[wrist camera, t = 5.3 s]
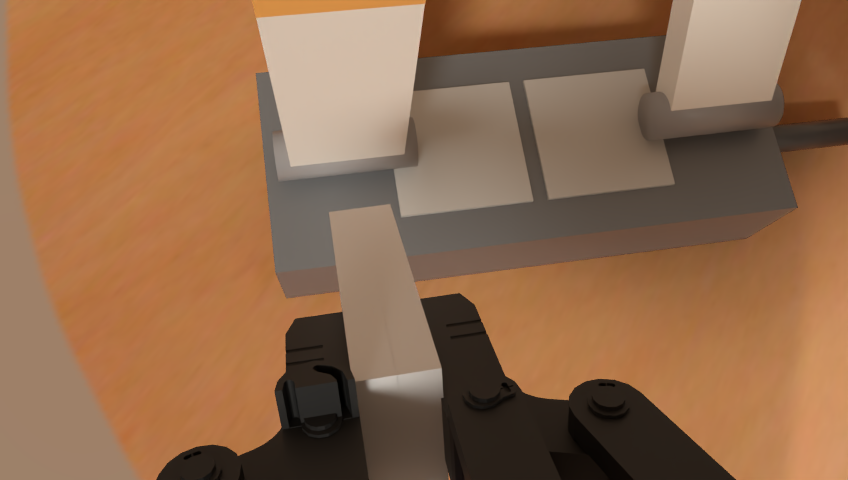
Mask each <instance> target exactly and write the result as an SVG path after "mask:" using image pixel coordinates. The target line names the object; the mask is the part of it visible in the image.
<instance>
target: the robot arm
mask: <svg viewBox="0 0 848 480" xmlns="http://www.w3.org/2000/svg"><path fill="white" fill-rule="evenodd" d="M329 217H330V224H331V232H332V239H333V246H334V254H335V261H336V269H337V276H338V284H339V291H340V298H341V306H342V312H339V313H332V314H325V315H318V316H311V317H304V318H297V319H295V320H294V322H293V323H292V325H291V326H290V328H289V330H288V331H287V333H286V373H285V374H284V375H283V376H282V377H281V378H280V379H279V380H278V382H277V385H276V388H275V396H276V401H277V406H278V411H279V416H280V421H281V426H282V428H281V430H280V431H279V432H278V433H277V434H276V435H275V436H274V437H273V438H272V439H271V440H269V441H268V442H267V443H265V444H264V445H262V446H260V447H258V448H256V449H254V450H252V451H249V452H247V453H244V454H242V455H240V456H237V454H236V453H235V452H233V451H232V450H230V449H229V448H227V447H223V446H217V445H207V446H199V447H195V448H193V449H190V450H188V451H185V452H183V453H181V454H179V455H178V456H176V457H175V458H174V459H172V460H171V461H170V462H168V463H167V465H166V466H165V467H164V469H163V470H162V471H161V472H160V474H159V475H158V477H157V479H156V480H449V479H448V473H449V476H450V480H736V479H735V478H734V477H732V476H731V475H730V474H729V473H728V472H727V471H726V470H725V469H724V468H723V467H722V466H720V465H719V464H718V463H717V462H716V461H715V460H714V459H713V458H712V457H711V456H709V455H708V454H707V453H706V452H705V451H704V450H703V449H702V448H701V447H700V446H699V445H697V444H696V443H695V442H694V441H693V440H692V439H691V438H690V437H689V436H688V435H687V434H685V433H684V432H683V431H682V430H681V429H680V428H679V427H678V426H677V425H676V424H675V423H673V422H672V421H671V420H670V419H669V418H668V417H667V416H666V415H665V414H664V413H663V412H661V411H660V410H659V409H658V408H657V407H656V406H655V405H654V404H653V403H652V402H651V401H649V400H648V399H647V398H646V397H645V396H644V395H643V394H642V393H641V392H639V391H638V390H636V389H635V388H633V387H632V386H630V385H629V384H626V383H622V382H619V381H616V380H608V379H596V380H591V381H586V382H584V383H582V384H580V385H579V386H577V387H575V388H574V390H573V391H572V393H571V394H570V396H569V400H555V399H545V398H538V397H534V396H531V395H528V394H525V393H523V392H522V390H521V389H520V388H519V386H518V385H517V384H516V383H515V381H513V380H511V379H509V378H508V377H506V376H505V374H504V372H503V370H502V367H501V365H500V363H499V361H498V358H497V356H496V354H495V351H494V349H493V347H492V344H491V342H490V340H489V337H488V335H487V334H486V330H485V328H484V326H483V323H482V322H481V319H480V316H479V314H478V312H477V309H476V307H475V305H474V304H473V303H472V302H470V301H469V300H468V299H466V298H465V297H464V296H462V295H461V294H460V293H458V294H451V295H444V296H437V297H431V298H424V299H420V297H419V294H418V291H417V288H416V285H415V281H414V278H413V275H412V272H411V269H410V266H409V262H408V259H407V256H406V253H405V250H404V247H403V243H402V240H401V237H400V234H399V231H398V227H397V224H396V221H395V218H394V215H393V212H392V208H391V205H390V204H387V205H379V206H371V207H364V208H356V209H348V210H340V211H333V212H329Z"/></svg>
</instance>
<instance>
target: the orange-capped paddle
mask: <svg viewBox="0 0 848 480" xmlns="http://www.w3.org/2000/svg"><path fill="white" fill-rule="evenodd" d="M252 3H253V7H254V11H255V16H256V19H257V23H258V27H259V32H260V36H261V40H262V45H263V49H264V53H265V58H266V62H267V66H268V71H269V75H270V79H271V84H272V88H273V92H274V96H275V101H276V105H277V109H278V114H279V118H280V122H281V127H282V130H279V131H273V132H272V136H273V148H274V156H275V163H276V170H277V175H278V180H279V182H280V181H289V180H298V179H307V178H316V177H325V176H334V175H343V174H352V173H361V172H370V171H379V170H388V169H397V168H406V167H415V166H418V142H417V134H416V128H415V123H414V120H413V117H410V110H411V102H412V95H413V88H414V80H415V73H416V66H417V58H418V51H419V44H420V36H421V29H422V21H423V14H424V7H425V4H426V0H252Z"/></svg>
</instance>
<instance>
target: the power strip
mask: <svg viewBox="0 0 848 480" xmlns="http://www.w3.org/2000/svg"><path fill="white" fill-rule="evenodd" d="M665 40H666V35H663V36H653V37H642V38H631V39H620V40H609V41H599V42H588V43H577V44H566V45H555V46H545V47H534V48H523V49H512V50H502V51H491V52H480V53H469V54H458V55H448V56H437V57H426V58H417V66H416V73H415V80H414V88H413V95H412V102H411V110H410V117H413V120H414V123H415V128H416V134H417V142H418V166H415V167H406V168H397V169H388V170H379V171H370V172H361V173H352V174H343V175H334V176H325V177H316V178H307V179H298V180H289V181H280V182H279V180H278V175H277V170H276V163H275V156H274V148H273V136H272V132H273V131H279V130H282V127H281V122H280V118H279V114H278V109H277V105H276V101H275V96H274V92H273V88H272V84H271V79H270V75H269V72H264V73H256V79H257V89H258V99H259V110H260V120H261V130H262V140H263V150H264V160H265V170H266V181H267V191H268V201H269V211H270V221H271V231H272V241H273V252H274V262H275V272H276V275H277V277H278V280H279V282H280V284H281V287H282V289H283V291H284V293H285V296H286V298H292V297H299V296H307V295H315V294H322V293H330V292H338V291H339V284H338V276H337V269H336V261H335V254H334V246H333V239H332V232H331V224H330V217H329V212H333V211H340V210H348V209H356V208H364V207H371V206H379V205H387V204H390V205H391V208H392V212H393V215H394V218H395V221H396V224H397V227H398V231H399V234H400V237H401V240H402V243H403V247H404V250H405V253H406V256H407V259H408V262H409V266H410V269H411V272H412V275H413V278H414V281H422V280H430V279H438V278H446V277H453V276H461V275H469V274H476V273H484V272H492V271H499V270H507V269H515V268H522V267H530V266H538V265H546V264H553V263H561V262H569V261H576V260H584V259H592V258H599V257H607V256H615V255H623V254H630V253H638V252H646V251H653V250H661V249H669V248H676V247H684V246H692V245H700V244H707V243H715V242H723V241H730V240H738V239H746V238H748V237H750V236H751V235H753V234H755V233H756V232H758V231H760V230H761V229H763V228H765V227H766V226H768V225H770V224H771V223H773V222H774V221H776V220H778V219H779V218H781V217H783V216H784V215H786V214H788V213H789V212H791V211H793V210H794V209H796V208H798V206H797V203H796V200H795V197H794V194H793V190H792V187H791V184H790V181H789V178H788V175H787V171H786V168H785V165H784V162H783V159H782V156H781V152H788V151H796V150H805V149H814V148H822V147H831V146H840V145H848V118H838V119H829V120H820V121H811V122H802V123H793V124H784V125H776V126H774V127H769V128H760V129H751V130H742V131H733V132H724V133H715V134H706V135H696V136H687V137H678V138H669V139H660V140H651V141H648V140H646V139H645V138H644V137H643V135H642V133H641V129H640V126H639V122H638V106H639V102H640V99H641V97H642V96H643V95H644V94H645V93H651V92H656V87H657V82H658V77H659V72H660V66H661V61H662V56H663V50H664V45H665Z"/></svg>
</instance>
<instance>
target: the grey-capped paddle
mask: <svg viewBox="0 0 848 480" xmlns="http://www.w3.org/2000/svg"><path fill="white" fill-rule="evenodd" d="M800 4H801V0H673V3H672V8H671V13H670V19H669V24H668V29H667V35H666V40H665V45H664V50H663V56H662V61H661V66H660V72H659V77H658V82H657V87H656V92H651V93H645V94H644V95H643V96H642V97H641V99H640V102H639V106H638V122H639V126H640V129H641V133H642V135H643V137H644V138H645V139H646V140H648V141H651V140H660V139H669V138H678V137H687V136H696V135H706V134H715V133H724V132H733V131H742V130H751V129H760V128H769V127H774V126H776V125H777V124H778V123H779V122H780V120H781V118H782V115H783V112H784V96H783V93H782V90H781V88H780V86H779V85H778V84H777V81H778V77H779V74H780V71H781V67H782V64H783V61H784V57H785V54H786V50H787V47H788V44H789V40H790V37H791V34H792V30H793V27H794V24H795V20H796V17H797V14H798V10H799V7H800Z"/></svg>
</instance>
